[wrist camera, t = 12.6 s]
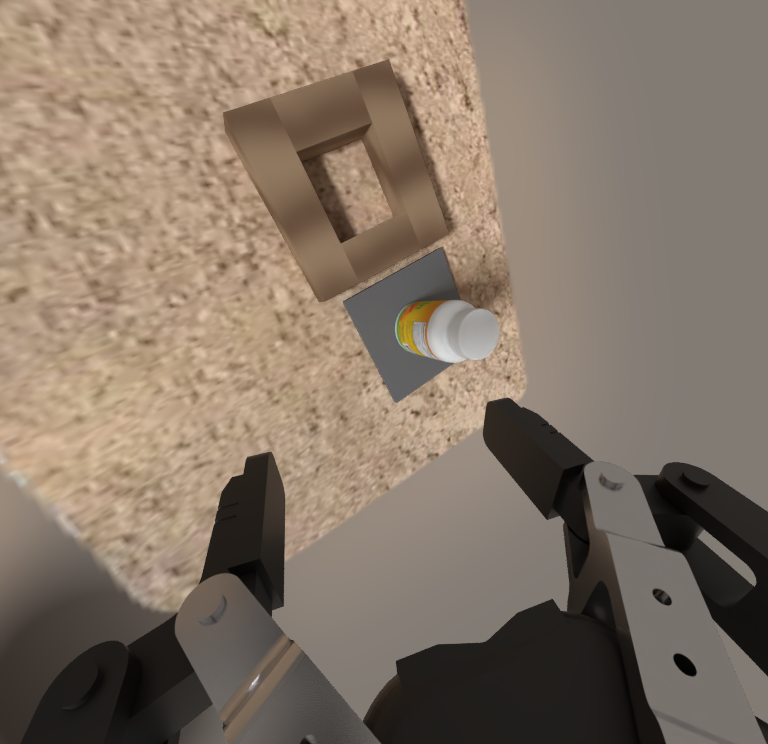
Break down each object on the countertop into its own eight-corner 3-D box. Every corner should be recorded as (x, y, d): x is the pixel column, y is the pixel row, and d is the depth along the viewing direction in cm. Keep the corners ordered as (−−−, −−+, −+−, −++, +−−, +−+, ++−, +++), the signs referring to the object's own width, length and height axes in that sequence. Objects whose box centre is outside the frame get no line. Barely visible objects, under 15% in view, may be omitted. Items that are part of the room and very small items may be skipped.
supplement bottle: (435, 298, 32) (505, 294, 23) (439, 347, 34) (507, 360, 25) (390, 305, 30) (448, 304, 21) (396, 357, 32) (454, 376, 23)
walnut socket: (225, 132, 23) (223, 112, 20) (376, 80, 26) (388, 59, 24) (319, 302, 28) (325, 301, 26) (434, 239, 31) (449, 233, 29)
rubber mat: (342, 301, 29) (344, 301, 28) (438, 248, 32) (441, 247, 31) (394, 401, 33) (396, 402, 33) (473, 346, 36) (477, 346, 36)
